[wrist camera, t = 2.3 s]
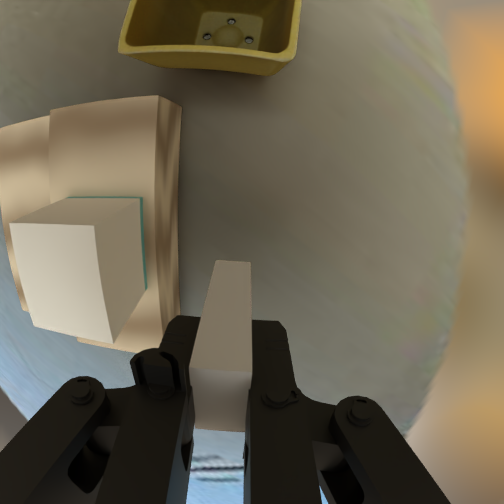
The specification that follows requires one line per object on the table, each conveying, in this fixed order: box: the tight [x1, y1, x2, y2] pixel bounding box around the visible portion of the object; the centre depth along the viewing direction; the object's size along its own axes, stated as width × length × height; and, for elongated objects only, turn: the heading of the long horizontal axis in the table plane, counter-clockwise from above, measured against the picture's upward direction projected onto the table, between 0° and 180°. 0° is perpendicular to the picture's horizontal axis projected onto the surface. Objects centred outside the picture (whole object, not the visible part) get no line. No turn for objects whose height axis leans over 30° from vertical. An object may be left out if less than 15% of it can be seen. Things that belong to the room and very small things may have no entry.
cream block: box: [9, 196, 148, 344], centre depth 14 cm, size 6×6×6 cm
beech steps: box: [0, 95, 182, 353], centre depth 20 cm, size 18×17×6 cm
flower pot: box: [118, 0, 302, 76], centre depth 13 cm, size 9×9×9 cm
